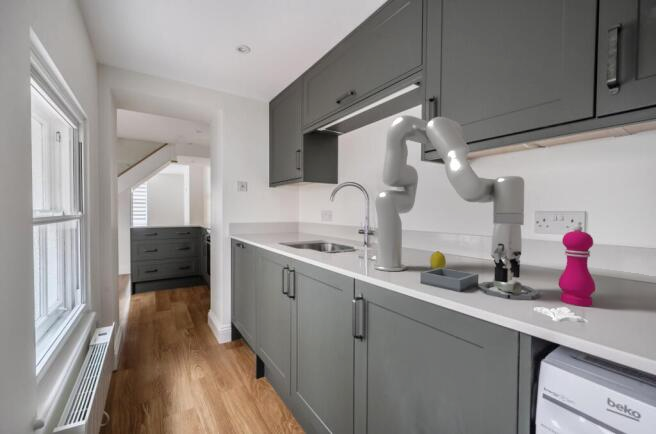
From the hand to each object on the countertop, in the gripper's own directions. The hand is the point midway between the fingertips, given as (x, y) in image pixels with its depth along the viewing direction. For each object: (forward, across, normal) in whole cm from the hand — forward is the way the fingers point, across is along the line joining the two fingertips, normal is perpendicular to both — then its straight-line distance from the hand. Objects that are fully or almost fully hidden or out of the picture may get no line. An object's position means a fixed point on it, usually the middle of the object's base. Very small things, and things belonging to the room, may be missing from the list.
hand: (507, 279), depth 84 cm
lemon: (+4, -9, -27) cm, 29 cm away
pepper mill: (+4, -3, +15) cm, 16 cm away
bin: (+4, +5, -15) cm, 16 cm away
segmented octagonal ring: (+4, 0, 0) cm, 4 cm away
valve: (+4, 0, 0) cm, 4 cm away
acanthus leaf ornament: (+5, +12, +15) cm, 20 cm away
